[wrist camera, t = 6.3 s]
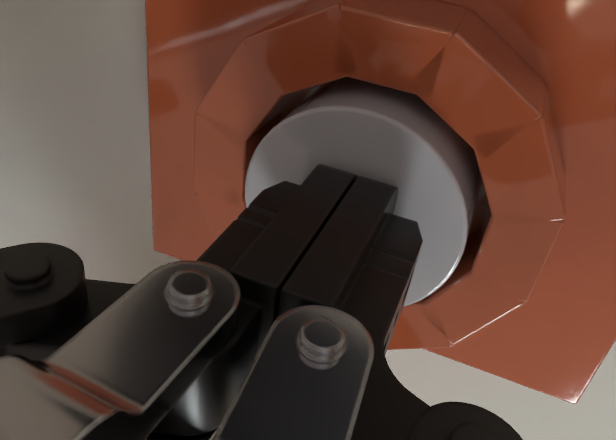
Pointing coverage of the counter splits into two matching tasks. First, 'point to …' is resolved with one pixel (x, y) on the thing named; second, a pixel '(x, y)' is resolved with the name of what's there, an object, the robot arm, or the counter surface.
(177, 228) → the orange button block
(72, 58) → the counter surface
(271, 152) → the pale grey round puck
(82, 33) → the counter surface
